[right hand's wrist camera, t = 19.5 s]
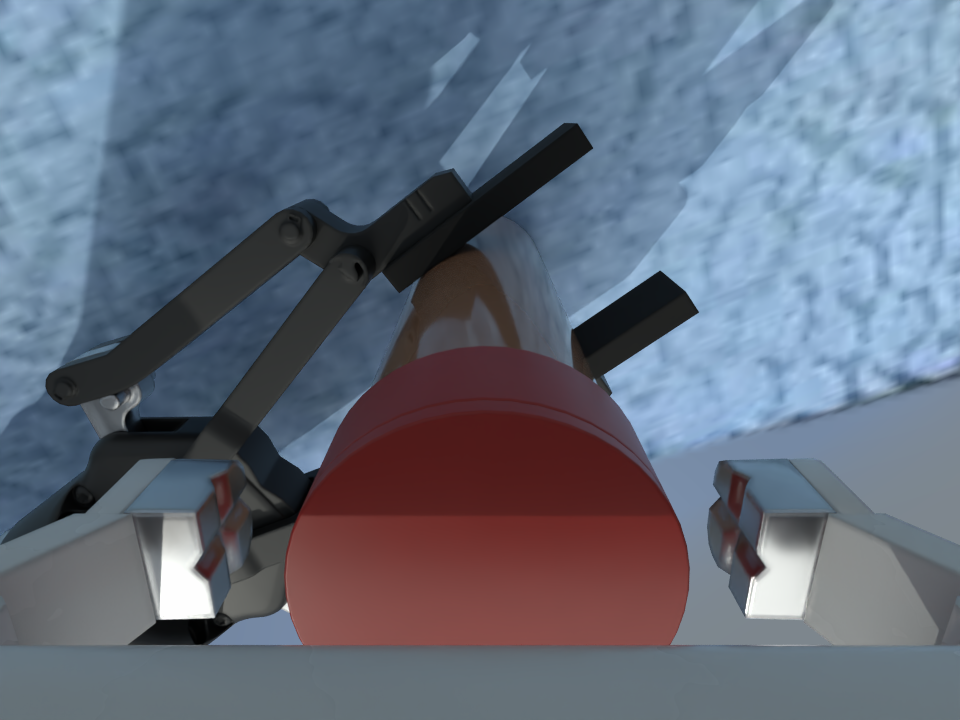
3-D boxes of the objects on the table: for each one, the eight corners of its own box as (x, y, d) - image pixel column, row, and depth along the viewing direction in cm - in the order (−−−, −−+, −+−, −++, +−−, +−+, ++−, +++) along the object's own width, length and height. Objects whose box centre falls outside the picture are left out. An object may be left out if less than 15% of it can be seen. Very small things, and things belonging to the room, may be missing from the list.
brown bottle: (562, 246, 25) (725, 495, 9) (506, 347, 27) (551, 726, 10) (455, 190, 25) (402, 342, 8) (403, 297, 26) (265, 617, 9)
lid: (259, 499, 10) (200, 599, 8) (480, 273, 9) (480, 320, 7) (489, 668, 12) (490, 794, 10) (712, 492, 10) (773, 590, 8)
